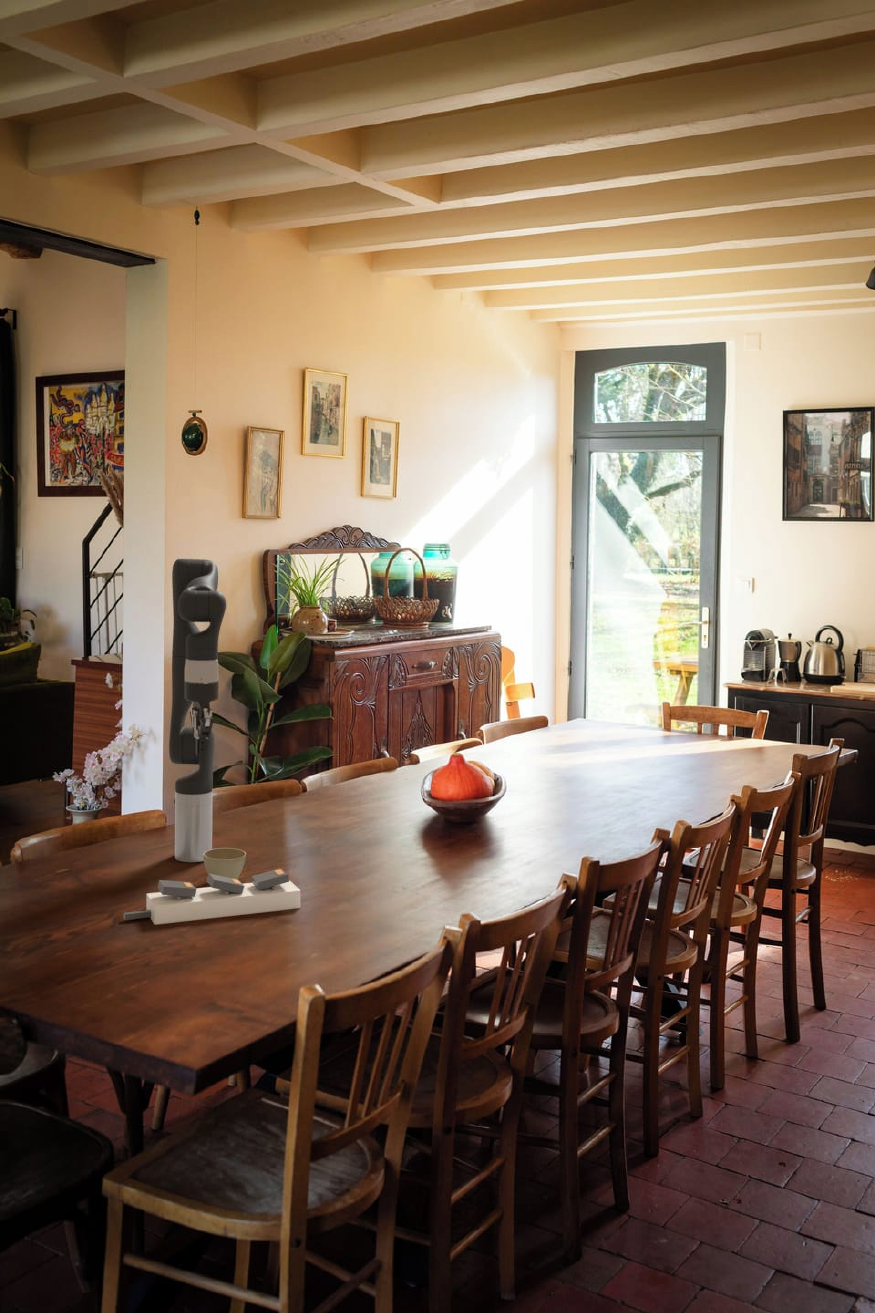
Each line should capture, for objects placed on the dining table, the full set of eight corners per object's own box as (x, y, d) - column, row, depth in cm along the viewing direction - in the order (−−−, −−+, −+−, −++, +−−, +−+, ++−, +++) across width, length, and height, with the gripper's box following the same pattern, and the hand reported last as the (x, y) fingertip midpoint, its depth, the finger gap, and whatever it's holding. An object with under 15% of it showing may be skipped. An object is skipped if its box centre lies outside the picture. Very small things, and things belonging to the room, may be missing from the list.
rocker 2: (206, 881, 257) (209, 872, 257) (235, 887, 260) (238, 879, 260) (211, 887, 252) (214, 879, 252) (242, 894, 255) (244, 885, 255)
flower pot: (204, 890, 270) (204, 860, 269) (201, 877, 279) (201, 848, 278) (248, 888, 272) (248, 858, 272) (243, 875, 282) (243, 846, 281)
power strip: (120, 914, 252) (120, 892, 251) (287, 896, 267) (288, 875, 267) (128, 927, 243) (128, 905, 243) (300, 908, 259) (300, 887, 259)
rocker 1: (157, 888, 252) (159, 879, 252) (189, 890, 255) (191, 881, 255) (162, 895, 248) (164, 886, 248) (194, 897, 251) (196, 888, 251)
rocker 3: (252, 883, 261) (251, 875, 261) (282, 875, 264) (281, 867, 264) (259, 890, 257) (257, 882, 256) (289, 881, 260) (287, 873, 259)
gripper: (178, 676, 267) (178, 750, 269) (191, 683, 256) (191, 761, 257) (210, 675, 271) (210, 748, 272) (225, 682, 259) (224, 759, 261)
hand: (201, 754), depth 265 cm, fingers closed
